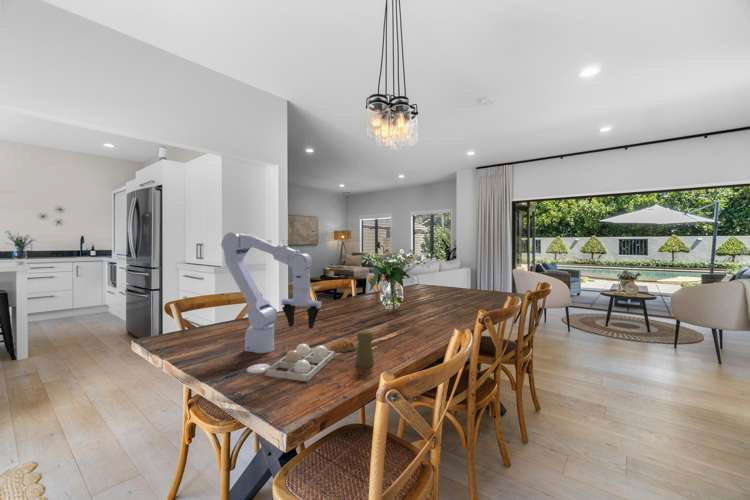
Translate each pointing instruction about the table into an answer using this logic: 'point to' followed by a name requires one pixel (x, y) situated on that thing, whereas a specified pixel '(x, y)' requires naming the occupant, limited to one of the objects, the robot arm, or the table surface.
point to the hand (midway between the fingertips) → (301, 326)
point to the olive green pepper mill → (364, 349)
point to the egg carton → (290, 373)
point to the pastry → (344, 345)
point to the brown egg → (292, 356)
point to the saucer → (257, 368)
